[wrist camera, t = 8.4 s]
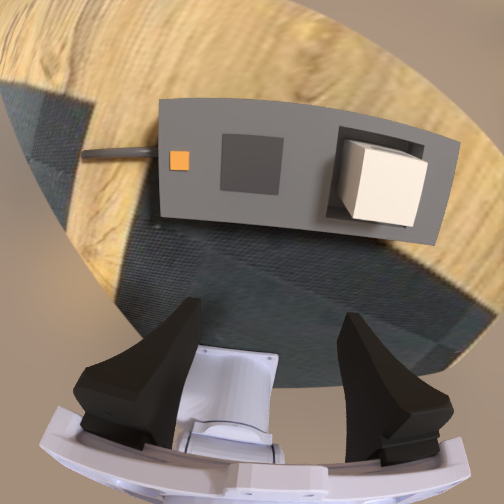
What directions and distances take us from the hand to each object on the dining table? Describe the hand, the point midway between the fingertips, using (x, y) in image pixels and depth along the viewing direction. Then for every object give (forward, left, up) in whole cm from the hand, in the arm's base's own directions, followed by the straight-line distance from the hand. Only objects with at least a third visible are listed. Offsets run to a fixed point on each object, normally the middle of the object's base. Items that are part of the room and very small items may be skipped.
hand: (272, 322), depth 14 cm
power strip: (-2, +6, -10) cm, 12 cm away
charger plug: (+6, +6, -9) cm, 13 cm away
